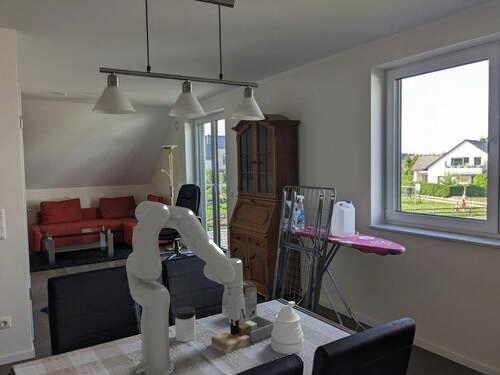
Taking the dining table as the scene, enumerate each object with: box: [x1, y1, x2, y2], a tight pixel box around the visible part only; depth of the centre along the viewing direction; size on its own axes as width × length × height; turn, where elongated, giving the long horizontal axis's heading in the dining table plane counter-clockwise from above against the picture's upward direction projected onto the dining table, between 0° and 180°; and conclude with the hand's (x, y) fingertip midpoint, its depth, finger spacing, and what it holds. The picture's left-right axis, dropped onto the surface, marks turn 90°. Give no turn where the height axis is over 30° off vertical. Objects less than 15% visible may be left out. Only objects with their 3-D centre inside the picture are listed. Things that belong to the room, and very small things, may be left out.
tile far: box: [244, 320, 257, 336], centre depth 167 cm, size 5×5×3 cm
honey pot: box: [270, 300, 305, 355], centre depth 157 cm, size 13×13×18 cm
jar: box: [174, 306, 197, 343], centre depth 167 cm, size 9×8×12 cm
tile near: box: [238, 323, 251, 336], centre depth 164 cm, size 5×5×3 cm
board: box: [210, 330, 251, 354], centre depth 160 cm, size 12×10×3 cm
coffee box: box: [243, 279, 258, 320], centre depth 189 cm, size 9×6×16 cm
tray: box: [243, 314, 275, 345], centre depth 168 cm, size 14×12×5 cm
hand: (234, 333), depth 161 cm, fingers closed
